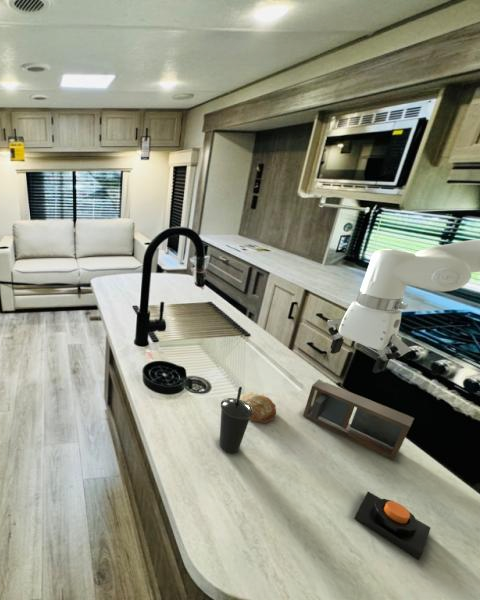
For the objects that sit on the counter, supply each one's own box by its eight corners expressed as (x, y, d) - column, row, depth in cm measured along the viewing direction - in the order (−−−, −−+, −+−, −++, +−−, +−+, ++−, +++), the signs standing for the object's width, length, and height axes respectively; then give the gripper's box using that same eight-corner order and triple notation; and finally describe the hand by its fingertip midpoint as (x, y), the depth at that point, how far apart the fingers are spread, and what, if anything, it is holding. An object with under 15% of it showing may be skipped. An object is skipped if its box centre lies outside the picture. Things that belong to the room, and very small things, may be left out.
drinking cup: (207, 440, 89) (217, 382, 81) (228, 433, 91) (240, 375, 84) (228, 461, 82) (241, 400, 75) (250, 452, 84) (264, 392, 77)
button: (409, 516, 65) (412, 511, 64) (405, 527, 63) (408, 521, 62) (386, 503, 67) (388, 497, 67) (381, 513, 65) (384, 507, 65)
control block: (426, 534, 65) (434, 521, 63) (418, 560, 60) (426, 547, 59) (364, 497, 72) (370, 485, 71) (353, 518, 68) (359, 506, 66)
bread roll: (236, 410, 105) (230, 393, 102) (265, 398, 104) (260, 381, 101) (253, 433, 96) (247, 415, 93) (286, 420, 94) (280, 401, 92)
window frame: (398, 451, 84) (414, 417, 80) (393, 461, 81) (410, 426, 77) (309, 409, 100) (318, 379, 95) (302, 415, 97) (312, 385, 93)
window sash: (346, 427, 90) (355, 404, 87) (338, 438, 86) (347, 414, 83) (311, 410, 96) (318, 388, 93) (302, 420, 93) (309, 397, 90)
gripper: (434, 311, 69) (405, 376, 75) (346, 288, 84) (328, 343, 90) (416, 317, 66) (387, 383, 73) (329, 292, 81) (311, 348, 88)
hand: (354, 361), depth 81 cm, fingers open, 9 cm apart
